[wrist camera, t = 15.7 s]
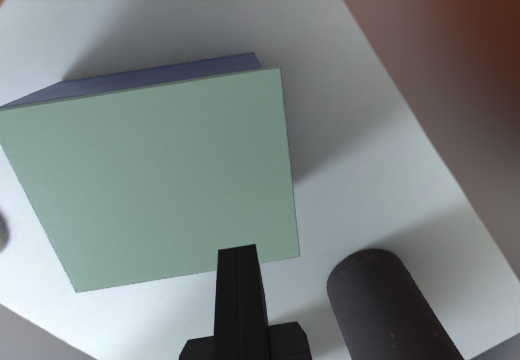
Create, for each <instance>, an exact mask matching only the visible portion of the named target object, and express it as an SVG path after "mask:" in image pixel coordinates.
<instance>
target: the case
mask: <svg viewBox="0 0 520 360" xmlns="http://www.w3.org/2000/svg"><path fill="white" fill-rule="evenodd" d="M257 68H262V67H261V65H260V64H259V62H258V60H257V58H256V56H255V55H254V53H253V52H252V53H245V54H239V55H232V56H226V57H219V58H213V59H206V60H199V61H193V62H186V63H180V64H173V65H167V66H160V67H154V68H147V69H141V70H134V71H128V72H121V73H115V74H108V75H102V76H95V77H88V78H82V79H75V80H69V81H62V82H58V83H56V84H53V85H51V86H49V87H46V88H44V89H41V90H39V91H36V92H34V93H32V94H29V95H27V96H24V97H22V98H20V99H17V100H15V101H12V102H10V103H8V104H5V105H3V106H0V108H4V107H11V106H17V105H24V104H30V103H37V102H43V101H50V100H56V99H63V98H69V97H76V96H82V95H89V94H95V93H101V92H108V91H114V90H121V89H127V88H134V87H140V86H147V85H153V84H160V83H166V82H173V81H179V80H186V79H192V78H199V77H205V76H212V75H218V74H225V73H231V72H238V71H244V70H251V69H257Z"/></svg>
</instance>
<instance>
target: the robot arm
mask: <svg viewBox="0 0 520 360" xmlns="http://www.w3.org/2000/svg"><path fill="white" fill-rule="evenodd" d="M179 360H312V356H311V353H310V348H309V344H308V339H307V335H306V333H305V332H304V330H303V329H302V328H301V326H300V325H299V324H298V323H297V321H296V322H290V323H283V324H277V325H271V326H268V318H267V310H266V301H265V294H264V288H263V282H262V277H261V271H260V265H259V259H258V254H257V248H256V244H251V245H245V246H238V247H232V248H226V249H219V250H218V260H217V280H216V299H215V319H214V336H209V337H203V338H196V339H190V340H188V341H187V343H186V344H185V346H184V348H183V350H182V352H181V353H180V355H179Z"/></svg>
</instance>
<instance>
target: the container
mask: <svg viewBox="0 0 520 360" xmlns="http://www.w3.org/2000/svg"><path fill="white" fill-rule="evenodd" d="M327 293H328V296H329V299H330V302H331V305H332V308H333V311H334V313H335V316H336V319H337V321H338V324H339V327H340V329H341V332H342V334H343V337H344V340H345V342H346V345H347V348H348V351H349V353H350V356H351V359H352V360H464V358H463V357H462V355H461V354H460V352H459V351H458V349H457V348H456V346H455V345H454V343H453V341H452V340H451V338H450V337H449V335H448V334H447V332H446V331H445V329H444V328H443V326H442V325H441V323H440V321H439V320H438V318H437V317H436V315H435V314H434V312H433V310H432V309H431V307H430V306H429V304H428V302H427V301H426V299H425V298H424V296H423V295H422V293H421V291H420V290H419V288H418V286H417V285H416V283H415V281H414V280H413V278H412V277H411V275H410V273H409V272H408V270H407V269H406V267H405V266H404V265H403V263H402V262H401V260H400V259H399V258H398V257H397V256H396V255H394V254H392V253H390V252H387V251H383V250H366V251H362V252H358V253H356V254H353V255H351V256H349V257H348V258H346V259H345V260H343V261H342V262H341V263H339V264H338V265H337V266H336V267H335V269H334V270H333V271H332V273H331V274H330V277H329V279H328V282H327Z"/></svg>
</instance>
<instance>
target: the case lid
mask: <svg viewBox="0 0 520 360" xmlns="http://www.w3.org/2000/svg"><path fill="white" fill-rule="evenodd" d="M0 145H1V147H2V149H3V151H4V153H5V155H6V157H7V159H8V161H9V163H10V165H11V166H12V168H13V170H14V172H15V174H16V176H17V178H18V180H19V182H20V184H21V186H22V188H23V190H24V192H25V194H26V196H27V198H28V200H29V202H30V204H31V206H32V208H33V210H34V212H35V214H36V215H37V217H38V219H39V221H40V223H41V225H42V227H43V229H44V231H45V233H46V235H47V237H48V239H49V241H50V243H51V245H52V247H53V249H54V251H55V253H56V255H57V257H58V259H59V261H60V263H61V265H62V266H63V268H64V270H65V272H66V274H67V276H68V278H69V280H70V282H71V284H72V286H73V288H74V290H75V292H76V293H79V292H85V291H91V290H98V289H104V288H110V287H116V286H122V285H129V284H135V283H141V282H147V281H153V280H160V279H166V278H172V277H178V276H184V275H191V274H197V273H203V272H209V271H216V270H217V260H218V250H219V249H226V248H232V247H238V246H245V245H251V244H256V248H257V254H258V259H259V263H265V262H271V261H278V260H284V259H290V258H296V257H300V250H299V240H298V230H297V221H296V211H295V202H294V192H293V182H292V173H291V163H290V154H289V144H288V134H287V125H286V115H285V106H284V96H283V86H282V77H281V68H280V67H279V66H278V65H277V66H270V67H264V68H257V69H251V70H244V71H238V72H231V73H225V74H218V75H212V76H205V77H199V78H192V79H186V80H179V81H173V82H166V83H160V84H153V85H147V86H140V87H134V88H127V89H121V90H114V91H108V92H101V93H95V94H89V95H82V96H76V97H69V98H63V99H56V100H50V101H43V102H37V103H30V104H24V105H17V106H11V107H4V108H0Z"/></svg>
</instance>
